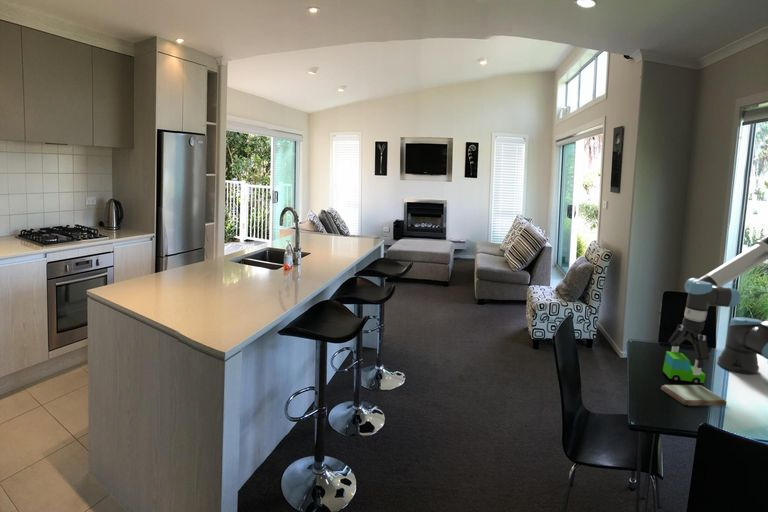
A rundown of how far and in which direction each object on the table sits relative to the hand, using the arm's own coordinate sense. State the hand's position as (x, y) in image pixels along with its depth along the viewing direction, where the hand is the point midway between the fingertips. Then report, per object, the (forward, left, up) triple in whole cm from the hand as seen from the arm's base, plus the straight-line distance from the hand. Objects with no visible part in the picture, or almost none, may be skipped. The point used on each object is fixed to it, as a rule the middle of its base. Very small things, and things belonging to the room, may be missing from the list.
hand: (684, 367), depth 203 cm
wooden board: (+8, +16, -5) cm, 18 cm away
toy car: (0, 0, -6) cm, 6 cm away
